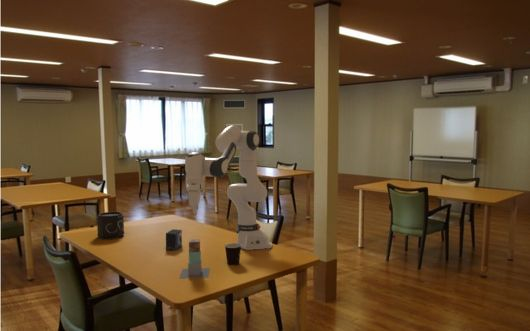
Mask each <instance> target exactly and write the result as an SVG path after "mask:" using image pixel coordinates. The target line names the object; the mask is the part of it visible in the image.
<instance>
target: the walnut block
mask: <svg viewBox="0 0 530 331" xmlns="http://www.w3.org/2000/svg"><path fill="white" fill-rule="evenodd" d="M199 251H201V239H200V238H197V239H196V238H195V239H194V238H193V239H192V238H191V239H189V240H188V253H189V252H199Z"/></svg>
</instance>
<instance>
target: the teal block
mask: <svg viewBox="0 0 530 331" xmlns="http://www.w3.org/2000/svg"><path fill="white" fill-rule="evenodd" d="M201 254H202V251H201V250H200V251H199V252H189V251H188V262H189V263H201V264H202V255H201Z"/></svg>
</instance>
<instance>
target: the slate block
mask: <svg viewBox="0 0 530 331" xmlns="http://www.w3.org/2000/svg"><path fill="white" fill-rule="evenodd" d="M202 268H203V267H202V262H201V263H189V261H188V262H187V269H188V275H201V271H202Z"/></svg>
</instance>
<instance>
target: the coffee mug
mask: <svg viewBox="0 0 530 331" xmlns="http://www.w3.org/2000/svg"><path fill="white" fill-rule="evenodd" d="M224 247H225V256H226V264H227V265H230V266H239V265H240V257H241V251H242V248H241V244H237V242H235V243H233V242H232V243H231V242H230V243H226V244H225V245H224Z"/></svg>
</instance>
